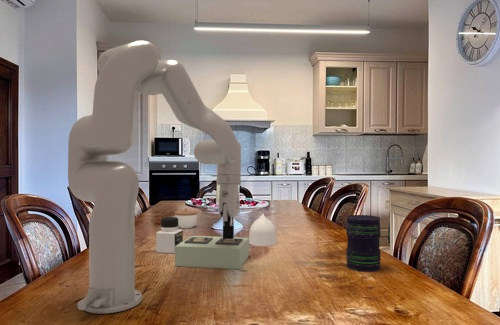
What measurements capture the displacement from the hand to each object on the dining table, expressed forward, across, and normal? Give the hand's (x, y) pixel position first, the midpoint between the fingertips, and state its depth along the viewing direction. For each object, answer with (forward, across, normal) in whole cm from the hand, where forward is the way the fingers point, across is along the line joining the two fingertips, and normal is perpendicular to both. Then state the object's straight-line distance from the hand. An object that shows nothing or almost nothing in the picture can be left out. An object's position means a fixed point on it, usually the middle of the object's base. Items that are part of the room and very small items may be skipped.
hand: (228, 238), depth 116 cm
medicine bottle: (+8, +11, +24) cm, 27 cm away
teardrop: (+7, +28, -7) cm, 30 cm away
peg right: (+7, 0, 0) cm, 7 cm away
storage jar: (+7, +1, -41) cm, 42 cm away
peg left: (+7, 0, +10) cm, 12 cm away
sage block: (+7, 0, +5) cm, 9 cm away
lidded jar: (+7, +56, +34) cm, 65 cm away
